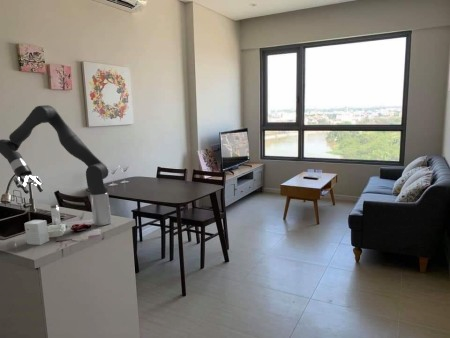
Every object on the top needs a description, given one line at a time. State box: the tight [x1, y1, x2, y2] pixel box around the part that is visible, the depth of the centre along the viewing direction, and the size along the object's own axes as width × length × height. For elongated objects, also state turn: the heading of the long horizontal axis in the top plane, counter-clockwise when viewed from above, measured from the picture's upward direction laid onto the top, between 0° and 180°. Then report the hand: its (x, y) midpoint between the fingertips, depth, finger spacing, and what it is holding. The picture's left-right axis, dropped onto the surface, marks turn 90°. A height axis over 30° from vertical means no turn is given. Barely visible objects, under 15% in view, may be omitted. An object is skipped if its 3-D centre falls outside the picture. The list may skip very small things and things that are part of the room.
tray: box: [47, 223, 66, 239], centre depth 176 cm, size 11×11×3 cm
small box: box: [23, 219, 50, 246], centre depth 164 cm, size 8×6×10 cm
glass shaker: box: [50, 203, 62, 225], centre depth 188 cm, size 4×4×12 cm
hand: (34, 192), depth 186 cm, fingers open, 8 cm apart
